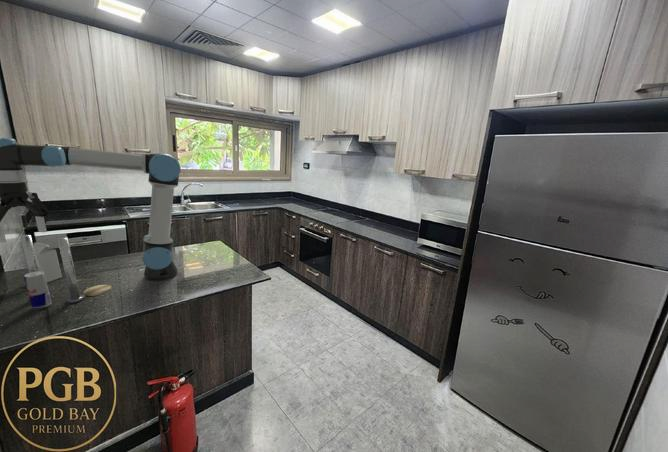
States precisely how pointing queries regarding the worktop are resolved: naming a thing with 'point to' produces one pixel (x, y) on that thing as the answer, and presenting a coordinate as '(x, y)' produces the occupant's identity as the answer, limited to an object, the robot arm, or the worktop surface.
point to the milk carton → (47, 261)
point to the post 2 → (69, 271)
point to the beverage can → (37, 290)
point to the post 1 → (30, 253)
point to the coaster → (97, 290)
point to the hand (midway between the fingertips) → (23, 236)
